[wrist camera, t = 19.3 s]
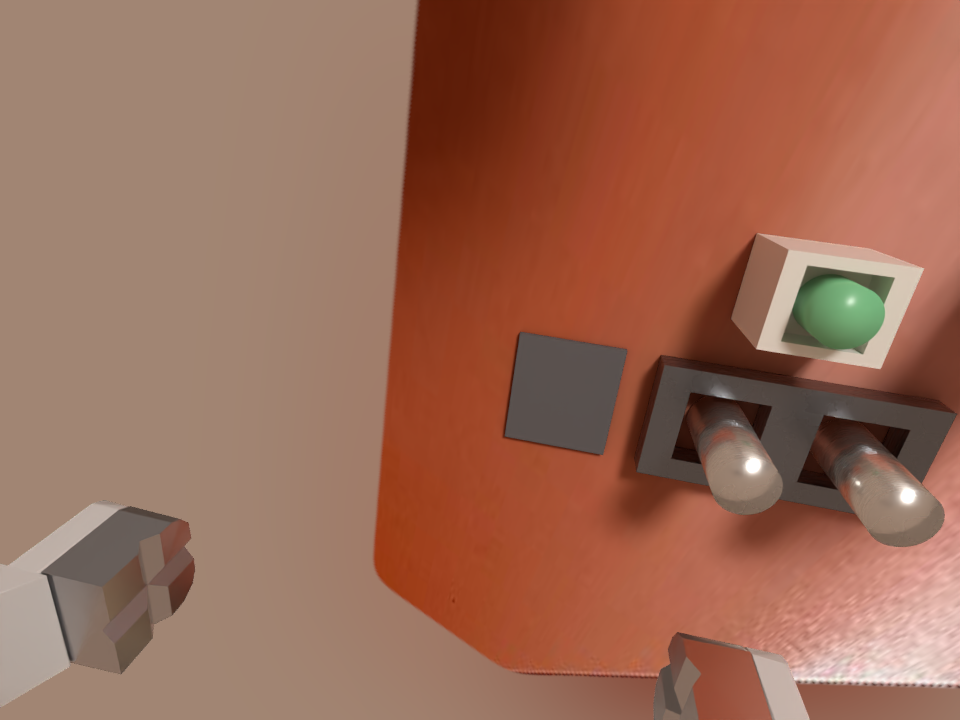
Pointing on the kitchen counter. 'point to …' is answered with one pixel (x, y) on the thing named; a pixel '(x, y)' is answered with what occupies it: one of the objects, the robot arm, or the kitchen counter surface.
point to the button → (838, 311)
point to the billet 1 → (733, 457)
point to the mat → (564, 392)
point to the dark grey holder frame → (785, 424)
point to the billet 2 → (876, 485)
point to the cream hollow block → (793, 263)
